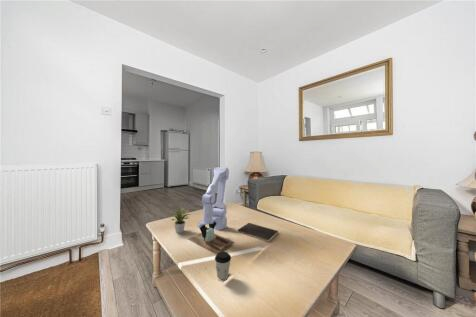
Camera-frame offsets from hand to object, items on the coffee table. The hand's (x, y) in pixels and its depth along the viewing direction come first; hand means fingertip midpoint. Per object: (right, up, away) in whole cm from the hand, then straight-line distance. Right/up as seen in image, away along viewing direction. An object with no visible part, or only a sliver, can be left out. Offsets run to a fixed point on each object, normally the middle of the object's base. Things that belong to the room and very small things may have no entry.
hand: (207, 235), depth 104 cm
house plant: (-22, -3, +10) cm, 24 cm away
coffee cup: (+12, -4, -31) cm, 34 cm away
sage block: (0, -2, 0) cm, 2 cm away
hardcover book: (+32, -5, +13) cm, 35 cm away
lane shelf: (+2, -3, -2) cm, 5 cm away
